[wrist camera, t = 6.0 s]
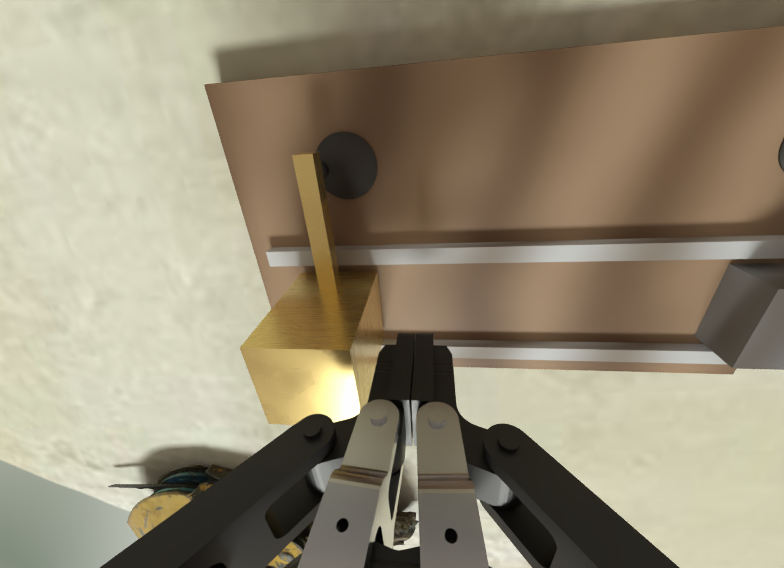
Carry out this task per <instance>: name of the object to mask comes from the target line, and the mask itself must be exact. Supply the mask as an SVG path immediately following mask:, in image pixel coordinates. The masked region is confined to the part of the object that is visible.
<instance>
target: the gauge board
mask: <svg viewBox="0 0 784 568" xmlns="http://www.w3.org/2000/svg"><path fill="white" fill-rule="evenodd" d="M204 86H205V89H206V92H207V96H208V99H209V102H210V106H211V109H212V112H213V116H214V119H215V122H216V126H217V129H218V132H219V136H220V139H221V142H222V146H223V149H224V152H225V156H226V159H227V162H228V166H229V169H230V172H231V176H232V179H233V182H234V186H235V189H236V192H237V196H238V199H239V202H240V206H241V209H242V212H243V216H244V219H245V222H246V226H247V229H248V232H249V236H250V239H251V242H252V246H253V249H254V253H255V256H256V259H257V263H258V266H259V269H260V273H261V276H262V279H263V283H264V286H265V289H266V293H267V296H268V299H269V303H270V306H271V309H272V308H273V307H274V306H275V304H276V303H277V302H278V301H279V299H280V298H281V297H282V296H283V295H284V293H285V292H286V291H287V290H288V289H289V287H290V286H291V285H292V284H293V282H294V281H295V280H296V279H297V278H298V276H299V275H300V274H301V273H302V272H316V270H315V265H314V260H313V255H312V250H311V245H310V241H309V236H308V231H307V226H306V221H305V216H304V211H303V207H302V202H301V197H300V192H299V187H298V182H297V178H296V173H295V168H294V163H293V158H292V155H294V154H298V153H305V152H319V153H320V159H321V160H322V161H324V162H325V163H326V164H327V165H328V167H329V175H328V177H327V178H325V179H324V183H325V189H326V195H327V201H328V207H329V213H330V219H331V225H332V231H333V237H334V243H335V249H336V255H337V261H338V267H339V272H368V271H377V272H378V282H379V292H380V301H381V311H382V321H383V331H384V337H383V342H382V346H381V349H382V348H383V347H384V346H385V345H396V341H397V335H398V333H415V336H416V333H433V337H434V345H443V346H447V347H448V349H449V350H450V352H451V353H452V358H453V367H485V368H522V369H559V370H596V371H632V372H669V373H706V374H733V373H734V372H735V370H736V368H742V369H782V370H784V26H777V27H767V28H757V29H747V30H737V31H727V32H718V33H708V34H698V35H688V36H678V37H668V38H658V39H649V40H639V41H629V42H619V43H609V44H599V45H589V46H579V47H570V48H560V49H550V50H540V51H530V52H520V53H510V54H501V55H491V56H481V57H471V58H461V59H451V60H441V61H432V62H422V63H412V64H402V65H392V66H382V67H372V68H362V69H353V70H343V71H333V72H323V73H313V74H303V75H293V76H284V77H274V78H264V79H254V80H244V81H234V82H224V83H215V84H205V85H204Z"/></svg>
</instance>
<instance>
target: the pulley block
mask: <svg viewBox="0 0 784 568" xmlns="http://www.w3.org/2000/svg"><path fill="white" fill-rule="evenodd" d="M209 466H210V467H209V468H207V467H204V466H200V465H188V466H182V467H178V468H175V469H173V470H171V471H169V472H167V473H165V474H164V475H163V476H162V477H160V478H159V480H158V482H157V484H115V485H111V486H108V487H120V488H138V489H144V488H149V489H154V493H153V494H152V495H151V496H149V497H147V498H145V499H143V500H141V501H140V502H138V503H137V504H136V506H135V507H134V508H133V509H132V511H131V513H130V515H129V517H128V521H127V523H128V524H129V526H130V527H131V528H132V530H133V531H134V533H135V534H136V536H137V537H138V538H139V539H140V538H141V537H142V536H144V535H145V534H146V533H148V532H149V531H150V530H152V529H153V528H155V527H156V526H157V525H159V524H160V523H161V522H163V521H164V520H165V519H167V518H168V517H170V516H171V515H172V514H174V513H175V512H176V511H178V510H179V509H180V508H182V507H183V506H184V505H186V504H187V503H189V502H190V501H191V500H193V499H194V498H195V497H197V496H198V495H199V494H201V493H202V492H204V491H205V490H206V489H208V488H209V487H210V486H212V485H213V484H214V483H216V482H217V481H219V480H220V479H221V478H223V477H224V476H225V475H227V474H228V473H229V472H231V471H232V470H229V469H225V468H222V467H218V466H214V465H209ZM415 519H416V513H415V512H396V518H395V525H394V541H393V546H395V545H406V544H404V541H405V540H407V539H409V538H410V537H411V536H412V535H413V533H414V531H415V525H416V524H417V523H418V522H419V521H416V520H415ZM314 520H315V519H314ZM314 520H313V521H312V522H311V523H310V524H309V525H308V526H307V527H306V528H305V529H304V530H303V531H302V532H301V533H300V534H299V535H298V536H297V537H296V538H295V539H294V540H293V541H291V542H290V543H289V544H288V545H287V546H286V547H285V548H284V549H283V550H282V551H281V552H280V553H279V554H278V555H277V556H276V557H275V558H274V559H273V560H272V561H271V562H270V563H269V564H268V565H267V566H266V567H265V568H284V567H285V566H286V565H287V564H288V563H289V562H291V561H292V560H293V559H294V558H295V557H297V556H298V555H300V554H301V553H303V551H304V548H305V545H306V542H307V539H308V537H309V534H310V531H311V528H312V525H313V523H314Z"/></svg>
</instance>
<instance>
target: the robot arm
mask: <svg viewBox="0 0 784 568" xmlns="http://www.w3.org/2000/svg"><path fill="white" fill-rule="evenodd" d="M412 439H414V446H417V466H418V505H419V535H420V546H419V547H414V548H410V549H405V550H399V551H398V550H394V549H393V541H394V525H395V518H396V512H397V506H398V499H399V493H400V487H401V480H402V474H403V467H404V464H403V463H404V458H405V447H406V445H407V446H412ZM476 498H477V499H479V500H480V502H481V504H482V506H483V507H484V509H485V510H486V511H487V512H488V513H489V515H490V516H491V517H492V518H493V520H494V521H495V522H496V523H497V525H498V526H499V527H500V528H501V530H502V531H503V532H504V533H505V534H506V536H507V537H508V538H509V539H510V541H511V542H512V543H513V544H514V546H515V547H516V548H517V549H518V550H519V552H520V553H521V554H522V555H523V557H524V558H525V559H526V560H527V562H528V563H529V564H530V565H531V566H532V568H679V567H678V566H677V565H676V564H675V563H673V562H672V561H671V560H670V559H669V558H668V557H666V556H665V555H664V554H663V553H662V552H661V551H660V550H658V549H657V548H656V547H655V546H654V545H653V544H652V543H650V542H649V541H648V540H647V539H646V538H645V537H644V536H642V535H641V534H640V533H639V532H638V531H637V530H635V529H634V528H633V527H632V526H631V525H630V524H629V523H627V522H626V521H625V520H624V519H623V518H622V517H621V516H619V515H618V514H617V513H616V512H615V511H614V510H613V509H611V508H610V507H609V506H608V505H607V504H606V503H604V502H603V501H602V500H601V499H600V498H599V497H598V496H596V495H595V494H594V493H593V492H592V491H591V490H590V489H588V488H587V487H586V486H585V485H584V484H583V483H582V482H580V481H579V480H578V479H577V478H576V477H575V476H573V475H572V474H571V473H570V472H569V471H568V470H567V469H565V468H564V467H563V466H562V465H561V464H560V463H559V462H557V461H556V460H555V459H554V458H553V457H552V456H550V455H549V454H548V453H547V452H546V451H545V450H544V449H542V448H541V447H540V446H539V445H538V444H537V443H536V442H534V441H533V440H532V439H531V438H530V437H529V436H528V435H526V434H525V433H524V432H523V431H522V430H520V429H518V428H517V427H515V426H512V425H509V424H496V425H493V426H491V427H490V428H489V429H488V430H487V429H484V428H482V427H479V426H476V425H473V424H471V423H470V422H468V421H467V420H465V419H464V418H463V417H462V416H461V415H460V413H459V411H458V409H457V406H456V396H455V383H454V371H453V358H452V353H451V352H450V350H449V349H448V347H447V346H443V345H434V337H433V333H416V336H415V333H398V335H397V341H396V345H385V346H384V347H383V348H382V349H381V351H380V352H379V354H378V358H377V364H376V367H375V372H374V376H373V381H372V385H371V390H370V394H369V398H368V402H367V404H365V405H364V406H363V407H362V408H361V410H360V412H359V414H357V415H356V416H354V417H352V418H349V419H345V420H341V421H337V422H333V421H332V419H331V418H330V417H328V416H327V415H324V414H312V415H309V416H307V417H305V418H303V419H302V420H300V421H299V422H298V423H296V424H295V425H293V426H292V427H291V428H289V429H288V430H287V431H285V432H284V433H283V434H281V435H280V436H278V437H277V438H276V439H274V440H273V441H272V442H270V443H269V444H268V445H266V446H265V447H263V448H262V449H261V450H259V451H258V452H257V453H255V454H254V455H253V456H251V457H250V458H248V459H247V460H246V461H244V462H243V463H242V464H240V465H239V466H238V467H236V468H235V469H234V470H232V471H231V472H229V473H228V474H227V475H225V476H224V477H223V478H221V479H220V480H219V481H217V482H216V483H214V484H213V485H212V486H210V487H209V488H208V489H206V490H205V491H204V492H202V493H201V494H199V495H198V496H197V497H195V498H194V499H193V500H191V501H190V502H189V503H187V504H186V505H184V506H183V507H182V508H180V509H179V510H178V511H176V512H175V513H174V514H172V515H171V516H170V517H168V518H167V519H165V520H164V521H163V522H161V523H160V524H159V525H157V526H156V527H155V528H153V529H152V530H150V531H149V532H148V533H146V534H145V535H144V536H142V537H141V538H140V539H138V540H137V541H136V542H134V543H133V544H131V545H130V546H129V547H127V548H126V549H125V550H123V551H122V552H121V553H119V554H118V555H116V556H115V557H114V558H112V559H111V560H110V561H108V562H107V563H106V564H104V565H103V566H102V567H100V568H265V567H266V566H267V565H268V564H269V563H270V562H271V561H272V560H273V559H274V558H275V557H276V556H277V555H278V554H279V553H280V552H281V551H282V550H283V549H284V548H285V547H286V546H287V545H288V544H289V543H290V542H291V541H293V540H294V539H295V538H296V537H297V536H298V535H299V534H300V533H301V532H302V531H303V530H304V529H305V528H306V527H307V526H308V525H309V524H310V523H311V522H312V521H313V520H314V519H315V520H314V523H313V525H312V528H311V531H310V534H309V537H308V539H307V542H306V545H305V548H304V551H303V553H301V554H300V555H298V556H297V557H295V558H294V559H293V560H292V561H291V562H289V563H288V564H287V565H286V566H285V567H284V568H492V567H490V566H489V565H488V560H487V555H486V549H485V544H484V538H483V533H482V527H481V522H480V516H479V511H478V505H477V500H476Z"/></svg>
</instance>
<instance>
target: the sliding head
mask: <svg viewBox="0 0 784 568" xmlns="http://www.w3.org/2000/svg"><path fill="white" fill-rule="evenodd" d="M292 158H293V163H294V168H295V173H296V178H297V182H298V187H299V192H300V197H301V202H302V207H303V211H304V216H305V221H306V226H307V231H308V236H309V241H310V245H311V250H312V255H313V260H314V265H315V270H316V272H302V273H301V274H300V275H299V276H298V278H297V279H296V280H295V281H294V282H293V284H292V285H291V286H290V287H289V289H288V290H287V291H286V292H285V293H284V295H283V296H282V297H281V298H280V299H279V301H278V302H277V303H276V304H275V306H274V307H273V308H272V309H271V310H270V312H269V313H268V314H267V315H266V317H265V318H264V319H263V320H262V321H261V323H260V324H259V325H258V326H257V328H256V329H255V330H254V331H253V332H252V334H251V335H250V336H249V337H248V339H247V340H246V341H245V342H244V343H243V345H242V346H241V347H240V350H241V352H242V355H243V358H244V360H245V363H246V365H247V368H248V371H249V373H250V376H251V378H252V381H253V384H254V386H255V389H256V391H257V394H258V397H259V399H260V402H261V405H262V407H263V410H264V412H265V415H266V418H267V420H268V423H269V424H286V425H295V424H296V423H298V422H299V421H300V420H302V419H303V418H305V417H307V416H309V415H312V414H324V415H327V416H328V417H330V418H331V419H332V421H333V422H337V421H341V420H345V419H349V418H352V417H354V416H356V415H357V414H359V412H360V410H361V408H362V407H363V406H364V405H365V404H367V402H368V398H369V394H370V390H371V385H372V381H373V376H374V372H375V367H376V364H377V358H378V354H379V352H380V351H381V346H382V342H383V337H384V331H383V321H382V311H381V301H380V292H379V282H378V272H377V271H368V272H339V267H338V261H337V255H336V249H335V243H334V237H333V231H332V225H331V219H330V213H329V207H328V201H327V195H326V189H325V183H324V179H325V178H327V177H328V175H329V167H328V165H327V164H326V163H325V162H324V161H322V160H321V159H320V153H319V152H305V153H298V154H294V155H292Z"/></svg>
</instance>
